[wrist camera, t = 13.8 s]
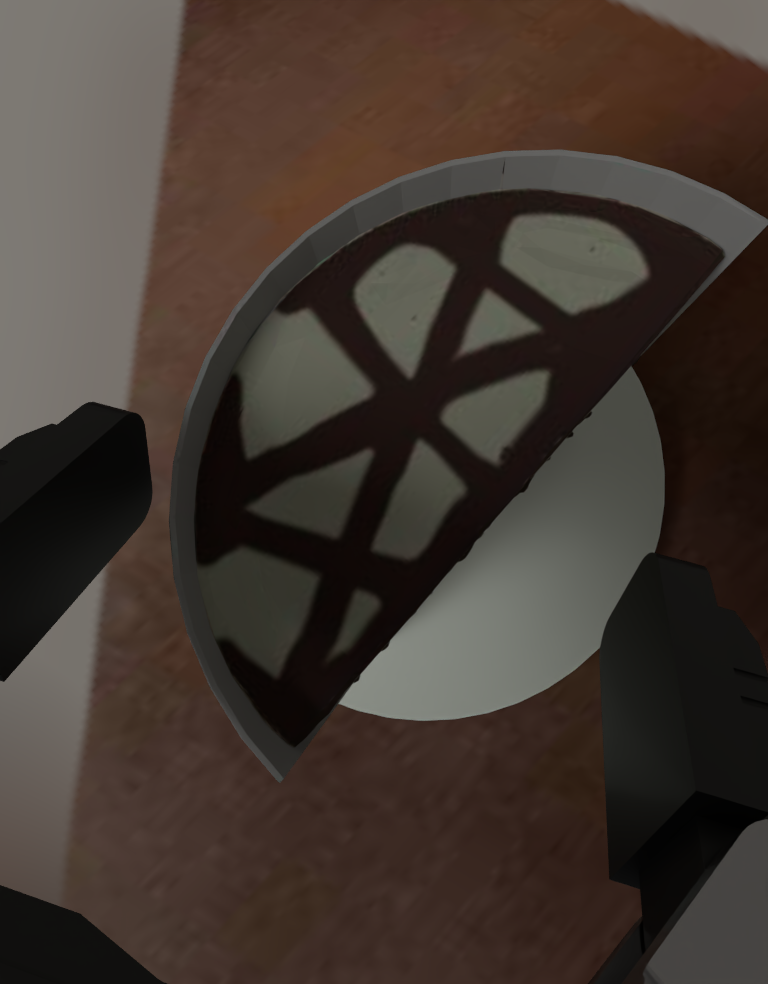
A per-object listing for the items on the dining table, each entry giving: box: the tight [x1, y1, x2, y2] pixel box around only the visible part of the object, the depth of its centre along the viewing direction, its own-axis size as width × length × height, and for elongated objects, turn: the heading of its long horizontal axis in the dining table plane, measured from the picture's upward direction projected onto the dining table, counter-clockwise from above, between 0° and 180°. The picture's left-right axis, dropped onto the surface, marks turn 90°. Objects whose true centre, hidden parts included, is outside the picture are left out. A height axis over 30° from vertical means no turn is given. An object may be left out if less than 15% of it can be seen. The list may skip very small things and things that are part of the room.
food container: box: [169, 150, 768, 782], centre depth 15 cm, size 12×6×10 cm, turn 138°
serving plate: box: [339, 366, 665, 721], centre depth 20 cm, size 15×15×1 cm
